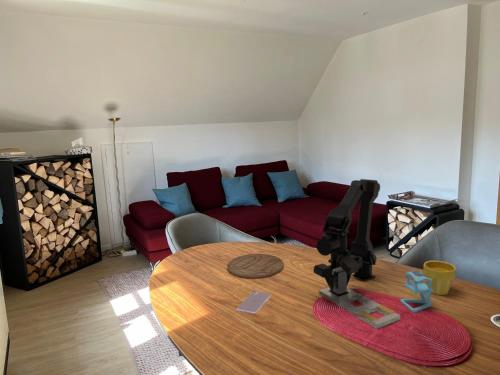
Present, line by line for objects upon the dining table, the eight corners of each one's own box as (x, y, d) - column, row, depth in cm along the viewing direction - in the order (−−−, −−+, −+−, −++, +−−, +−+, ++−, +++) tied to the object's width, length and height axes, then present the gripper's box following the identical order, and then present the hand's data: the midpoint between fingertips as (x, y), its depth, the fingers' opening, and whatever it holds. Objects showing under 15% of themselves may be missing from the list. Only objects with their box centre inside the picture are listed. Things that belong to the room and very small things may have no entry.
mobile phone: (235, 308, 131) (253, 290, 145) (235, 311, 131) (253, 292, 145) (255, 312, 128) (271, 293, 141) (255, 315, 128) (271, 295, 142)
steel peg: (339, 292, 141) (339, 266, 139) (346, 296, 137) (346, 270, 135) (331, 295, 139) (330, 269, 137) (338, 299, 135) (338, 273, 134)
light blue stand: (436, 309, 125) (437, 275, 123) (412, 312, 124) (414, 278, 122) (421, 299, 133) (423, 266, 131) (399, 301, 132) (401, 269, 129)
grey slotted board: (340, 287, 145) (340, 282, 144) (400, 319, 120) (400, 314, 120) (319, 294, 140) (319, 289, 140) (377, 329, 116) (377, 323, 115)
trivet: (293, 262, 172) (293, 258, 172) (265, 284, 151) (265, 279, 151) (247, 254, 185) (246, 250, 185) (216, 273, 165) (215, 269, 164)
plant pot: (453, 287, 140) (454, 262, 139) (455, 299, 131) (456, 273, 129) (422, 283, 145) (423, 258, 143) (422, 295, 135) (423, 269, 134)
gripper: (333, 259, 123) (333, 304, 126) (374, 248, 132) (374, 289, 135) (312, 250, 133) (313, 291, 136) (352, 239, 142) (352, 278, 144)
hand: (338, 288), depth 137 cm, fingers open, 6 cm apart
